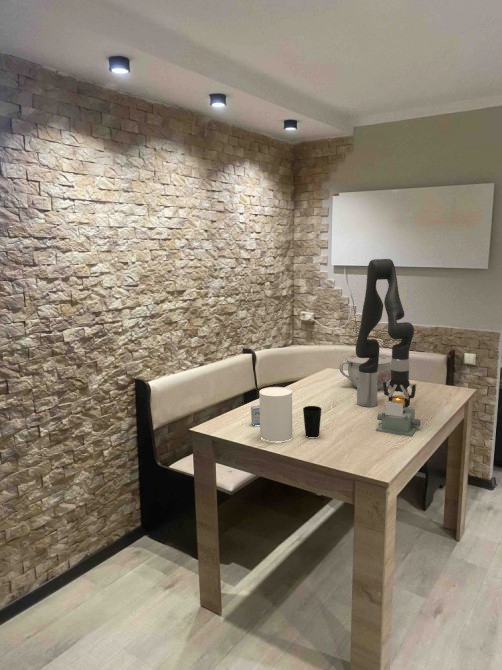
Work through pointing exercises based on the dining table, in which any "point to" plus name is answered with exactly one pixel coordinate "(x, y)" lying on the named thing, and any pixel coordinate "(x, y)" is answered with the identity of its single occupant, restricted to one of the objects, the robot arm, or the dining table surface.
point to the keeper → (394, 409)
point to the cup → (312, 420)
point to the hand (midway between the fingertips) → (398, 405)
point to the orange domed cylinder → (399, 399)
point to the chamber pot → (355, 361)
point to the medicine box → (255, 415)
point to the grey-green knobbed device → (399, 423)
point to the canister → (275, 413)
